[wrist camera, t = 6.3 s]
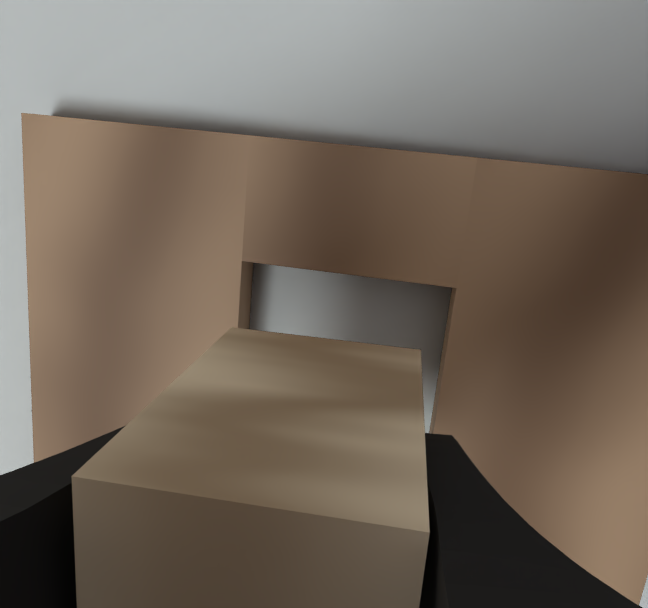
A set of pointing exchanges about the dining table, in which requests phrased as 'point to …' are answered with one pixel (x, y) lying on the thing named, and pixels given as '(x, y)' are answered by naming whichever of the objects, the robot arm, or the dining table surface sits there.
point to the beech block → (263, 483)
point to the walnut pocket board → (362, 260)
